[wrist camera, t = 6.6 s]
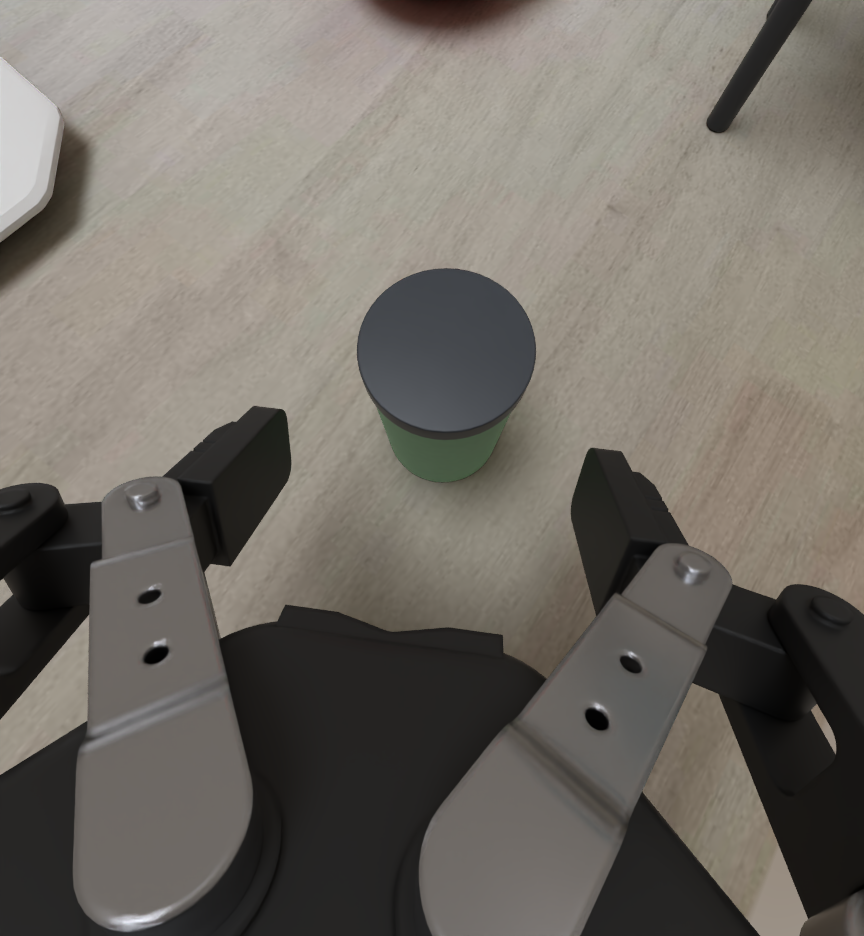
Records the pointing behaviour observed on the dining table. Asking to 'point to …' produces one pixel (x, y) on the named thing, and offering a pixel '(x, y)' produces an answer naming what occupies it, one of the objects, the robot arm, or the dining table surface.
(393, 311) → the plastic tub
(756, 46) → the tray
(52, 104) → the plate
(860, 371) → the dining table surface
